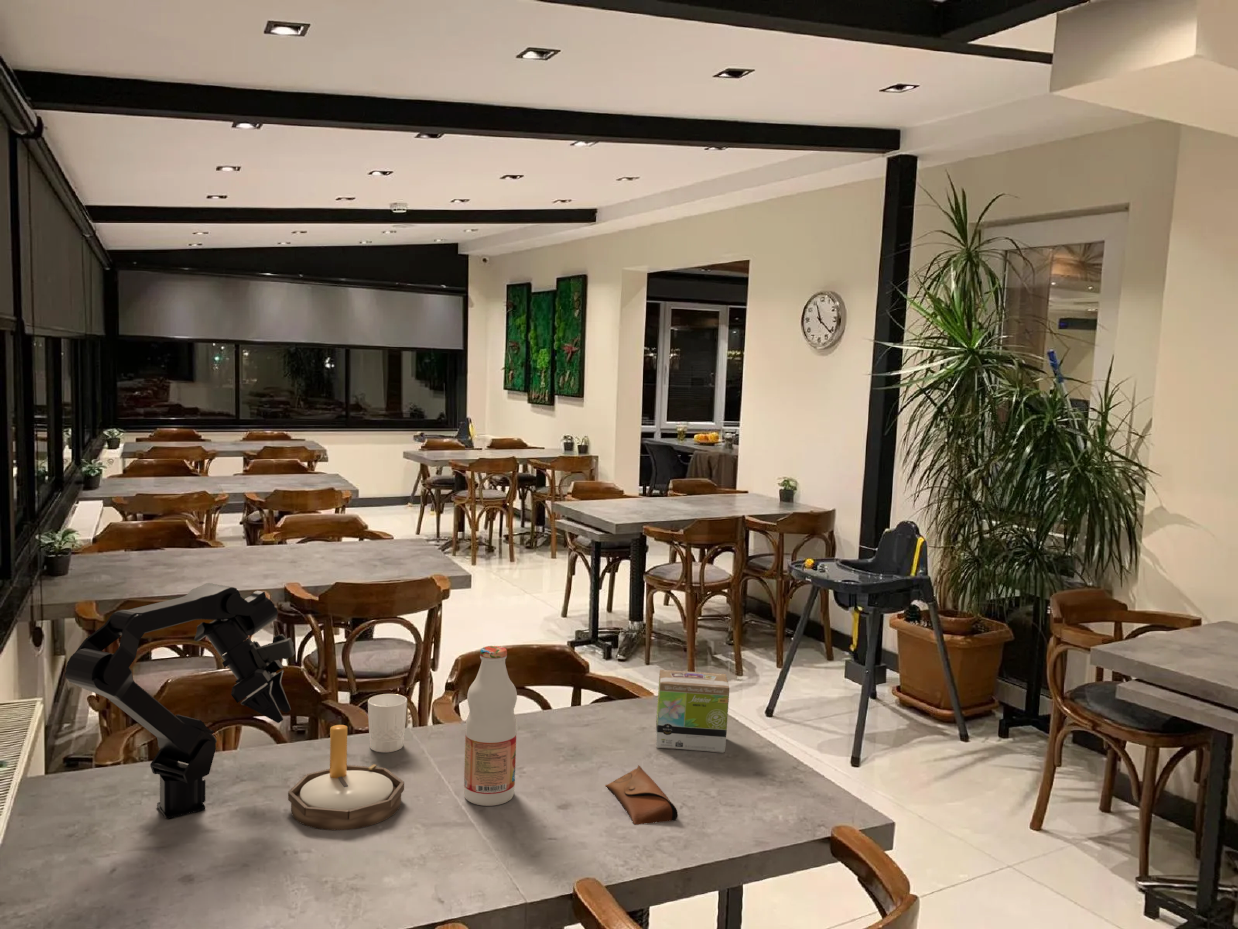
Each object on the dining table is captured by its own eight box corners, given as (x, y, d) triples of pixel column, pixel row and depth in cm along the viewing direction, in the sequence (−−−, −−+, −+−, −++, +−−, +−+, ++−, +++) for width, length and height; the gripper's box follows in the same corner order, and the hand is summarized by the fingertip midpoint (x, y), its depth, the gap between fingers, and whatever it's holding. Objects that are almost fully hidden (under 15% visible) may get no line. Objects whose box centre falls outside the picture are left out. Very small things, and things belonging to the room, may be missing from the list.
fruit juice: (453, 794, 178) (457, 647, 176) (493, 781, 185) (498, 639, 182) (484, 812, 171) (489, 659, 169) (524, 797, 178) (529, 650, 176)
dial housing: (316, 841, 158) (316, 819, 158) (274, 799, 173) (275, 779, 173) (419, 811, 171) (420, 791, 170) (372, 774, 185) (373, 756, 185)
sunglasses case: (601, 784, 185) (618, 753, 186) (629, 798, 188) (647, 768, 188) (634, 826, 168) (653, 793, 169) (665, 841, 171) (684, 808, 171)
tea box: (655, 750, 204) (658, 682, 202) (655, 732, 214) (658, 668, 212) (726, 754, 203) (729, 686, 202) (722, 736, 213) (726, 671, 212)
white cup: (400, 755, 195) (401, 707, 194) (362, 753, 196) (363, 705, 195) (409, 740, 203) (410, 694, 202) (373, 738, 203) (373, 692, 202)
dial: (321, 821, 160) (322, 765, 160) (286, 788, 173) (286, 735, 172) (408, 798, 171) (409, 744, 170) (369, 767, 183) (370, 718, 182)
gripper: (265, 626, 167) (316, 699, 168) (281, 616, 185) (328, 681, 186) (208, 664, 165) (261, 738, 166) (230, 650, 183) (278, 716, 184)
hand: (284, 716), depth 175 cm, fingers open, 9 cm apart
